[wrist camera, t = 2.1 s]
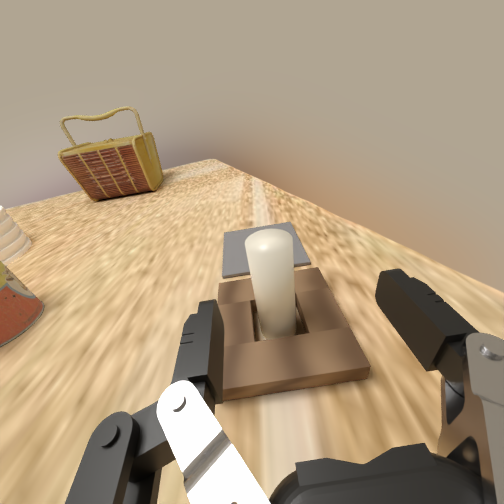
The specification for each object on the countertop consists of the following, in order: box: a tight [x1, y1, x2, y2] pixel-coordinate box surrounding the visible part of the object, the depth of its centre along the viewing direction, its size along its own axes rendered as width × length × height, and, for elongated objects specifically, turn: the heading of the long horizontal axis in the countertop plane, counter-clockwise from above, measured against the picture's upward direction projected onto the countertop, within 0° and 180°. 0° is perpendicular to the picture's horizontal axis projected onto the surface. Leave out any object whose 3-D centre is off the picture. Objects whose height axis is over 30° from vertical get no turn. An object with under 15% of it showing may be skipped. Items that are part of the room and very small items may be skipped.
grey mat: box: [222, 222, 310, 278], centre depth 46 cm, size 16×16×1 cm
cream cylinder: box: [245, 229, 296, 340], centre depth 26 cm, size 5×5×14 cm
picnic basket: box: [58, 107, 163, 201], centre depth 90 cm, size 29×26×30 cm
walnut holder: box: [218, 267, 371, 401], centre depth 29 cm, size 16×16×2 cm
